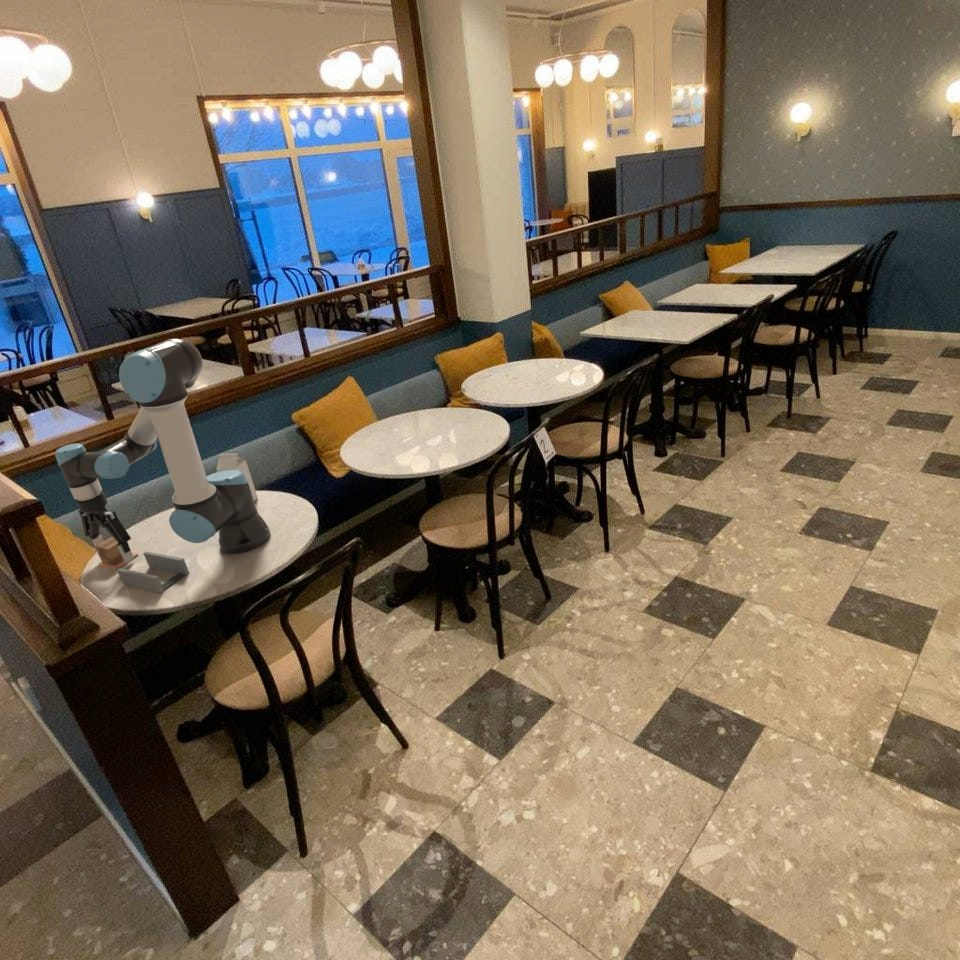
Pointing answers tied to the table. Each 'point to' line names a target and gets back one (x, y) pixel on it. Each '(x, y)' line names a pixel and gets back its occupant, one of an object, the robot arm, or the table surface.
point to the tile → (116, 565)
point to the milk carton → (236, 468)
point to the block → (109, 552)
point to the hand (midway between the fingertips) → (117, 557)
